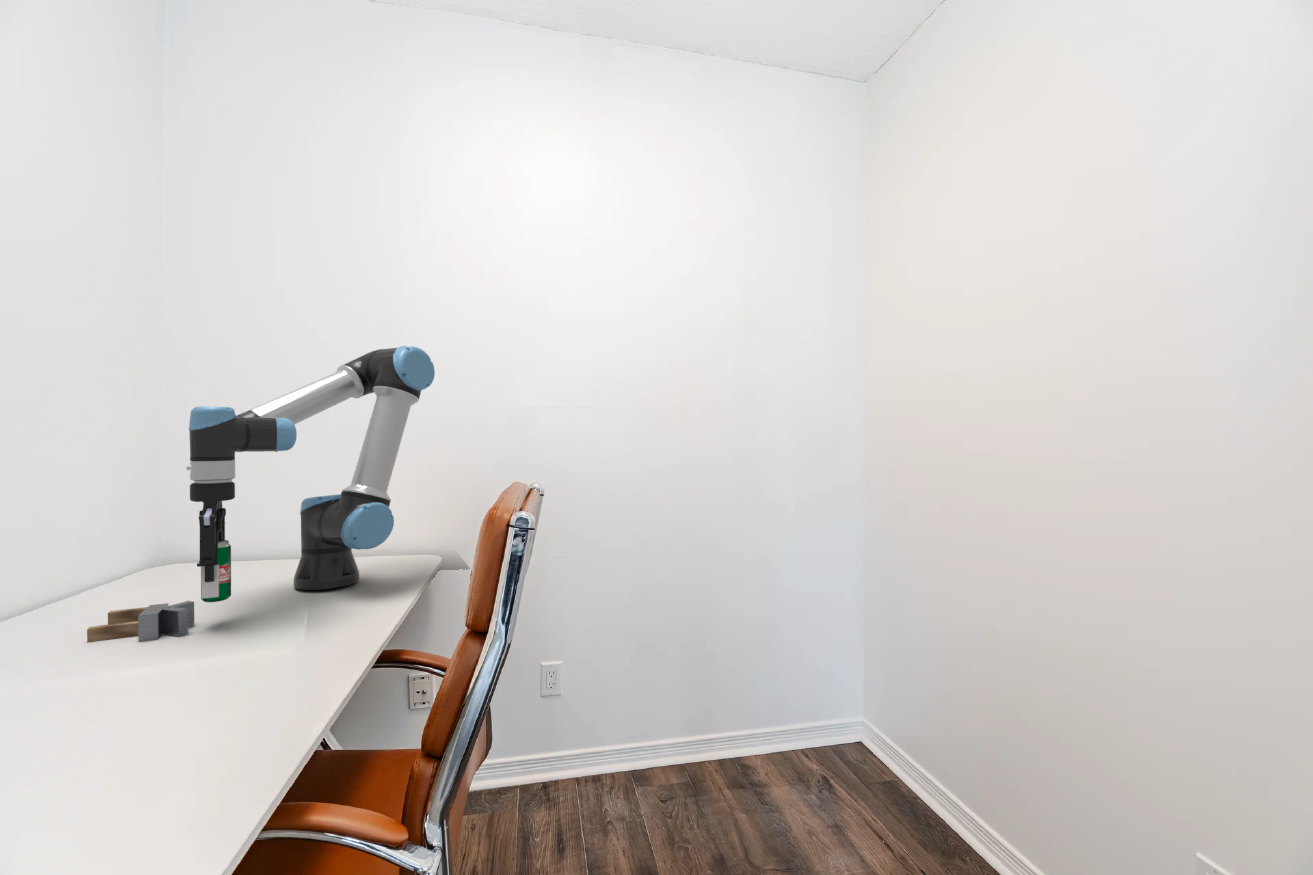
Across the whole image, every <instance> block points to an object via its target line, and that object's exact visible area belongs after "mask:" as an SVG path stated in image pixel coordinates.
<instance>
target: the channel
mask: <svg viewBox="0 0 1313 875" xmlns="http://www.w3.org/2000/svg"><path fill="white" fill-rule="evenodd" d="M147 607H148V606H145V607H143V606H142V607H136V608H126V609H125V608H124V609H117V610H115V609H114V610H110V611H108V612H107V624H102V625H95V626H89V627H88V628H87V629H86V642H87V643H90V642H98V641H106V640H107V641H108V640H113V639H115V640H116V639H123V638H129V637H138V615H140V614H141V613H142V612H143V611H144V610H145V609H146V608H147Z"/></svg>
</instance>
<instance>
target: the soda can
mask: <svg viewBox="0 0 1313 875" xmlns="http://www.w3.org/2000/svg"><path fill="white" fill-rule="evenodd" d="M229 542H230V541H229V540H228V539H225V540H218V558H217V561H218V563H217V564H219V597H213V598H203V599H202V566H200V599H201V600H202V602H205V603H216V602H217V603H218V602H223V601H226V600H229V598H231V596H232V545H231V544H230V543H229Z"/></svg>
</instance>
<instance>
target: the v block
mask: <svg viewBox="0 0 1313 875" xmlns="http://www.w3.org/2000/svg"><path fill="white" fill-rule="evenodd" d="M146 607H147V608H146V609H145V610H144V611H143V612H142V613H141V614H140V615H138V636H137V637H138V639H137V640H138V642H147V641H153V640H159V639H160V638H161V637H162V636H163V635H164V636H171V637H178V638H179V637H182V636H185V635H189V628H191V627H194V626H195V601H193V600H192V601H191V600H185V601H183V602H178V603H174V604H171V605H169V603H168V602H166V603H157V604H150V605H148V606H146Z"/></svg>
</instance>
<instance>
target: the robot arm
mask: <svg viewBox="0 0 1313 875" xmlns="http://www.w3.org/2000/svg"><path fill="white" fill-rule="evenodd" d="M435 372H436V370H435V366H434V363H433V361H432V359H431V357H430V356H429V354H428V353H427V352H426V351H424V350H423V349H421V348H419V347H417V346H412V345H411V346H407V345H401V346H398V347H390V348H381V349H376V350H372V351H370V352H367V353H365V354H362V355H361V356H359V357H357V358H355V359H353V360H351V361H349V362H346V363H344V364H341V365H340V366H338V367H337V369H336V371H335V372H332V373H330V374H329V375H327V376H324V377H321V378H320V379H318V380H314V381H312V382H310V383H308V384H306V385H304V386H302V387H299V388H296V389H294V390H291V391H289V392H287V393H285V394H283V395H281V396H278V397H275V398H273V399H272V400H269V401H266V402H265V403H263V404H259V405H257V406H255V407H253V408H251V409H248V410H247V411H244V412H242V413H240V414H236V412H235V409H234V407H229V406H228V407H227V406H203V405H201V406H194V407H193V408H192V409H191V410H190V416H189V425H188V426H189V427H188V431H189V461H190V462H189V464H190V465H187V466H186V467H185V468H186V470H187V471H190V472H189V476H190V477H189V480H191V481H193V482H192V483H190V484H189V501H191V502H194V503H195V502H196V503H201V502H202V504H203V505H202V509H201V510H199V513H198V522H199V560H198V562H197V563H196V567H200V568H201V566H202V599H203V598H213V597H219V564H217V563H218V561H217V558H218V540H226V515H227V509H226V507H223V502H225V501H231V500H235V497H236V482H234V481H233V480H234V479H236V453H242V452H243V453H245V452H248V453H249V452H253V453H254V452H256V453H257V452H276V453H277V452H286V451H287V452H288V451H289V450H291V449H293V447H294V446H295V444H296V442H297V435H298V434H297V428H296V424H299V423H301V422H302V421H305V420H306V419H309V418H311V417H313V416H315V415H318V414H319V413H322V412H323V411H326V410H328V409H330V408H332V407H334V406H337V405H338V404H341V403H343V402H345V401H347V400H348V399H350V398H351V399H360V398H362V397H364V396H366V395H367V396H368V395H370V394H375V396H376V400H375V403H374V406H373V409H372V413H371V417H370V419H369V422H368V427H367V428H366V429H367V430H366V431H365V436H364V439H363V442H362V446H361V449H360V452H359V456H358V460H357V463H356V466H355V470H354V473H353V476H352V479H351V483H350V484H349V485H348V486H346V487H345V488H343V489H341V493H340V494H330V495H322V496H314V497H313V496H311V497H307V498H305V499H303V500H302V502H301V504H300V511H299V516H300V546H301V547H300V548H301V551H300V552H301V553H300V554H301V555H300V558H299V562H298V565H297V568H296V570H295V573H294V576H293V588H295V589H297V590H304V591H305V590H306V591H310V590H311V591H312V590H313V591H317V590H329V589H334V588H341V587H346V586H349V585H352V584H355V583H357V582H358V581H359V580H360V571H359V568H358V565H357V562H356V560H355V557H354V555H353V550H371V549H374V548H376V547H378V546H380V545H381V544H383V543H384V542H385V541H386V540H387V539H388V538H389V537H390V535H391V533H392V532H393V529H394V527H395V526H394V525H395V524H394V523H395V518H394V515H393V514H392V513H393V512H392V510H391V508H390V505H391V500H392V499H391V498H390V496H389V495H388V488H389V485H390V482H391V478H392V474H393V471H394V467H395V463H396V460H397V457H398V452H399V449H400V446H401V443H402V438H403V435H404V432H405V428H406V425H407V421H408V418H409V413H410V410H411V407H412V406H413V405H415V404H416V403H418V402H419V400H420V396H421V393H422V391H423V390H426V389H427V388H428V387H430V386H431V385H432V384H433V381H434V380H435ZM352 549H353V550H352ZM202 599H201V600H202Z"/></svg>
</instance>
